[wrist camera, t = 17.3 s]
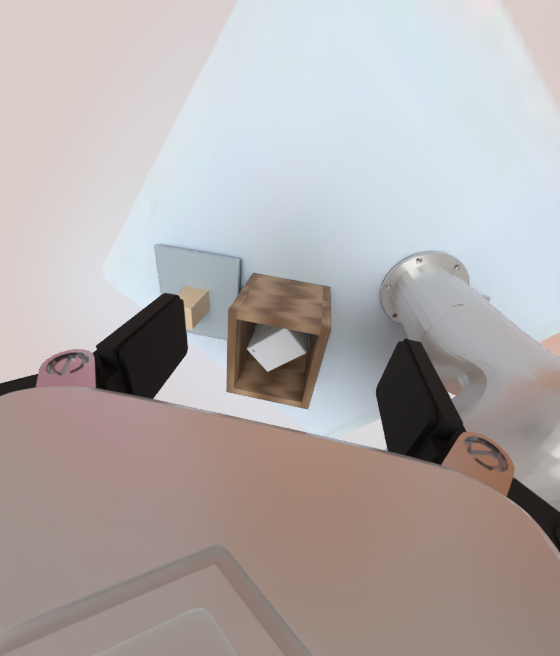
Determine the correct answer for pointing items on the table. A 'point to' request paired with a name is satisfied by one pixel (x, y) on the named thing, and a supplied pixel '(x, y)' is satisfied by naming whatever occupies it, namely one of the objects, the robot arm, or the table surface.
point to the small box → (276, 345)
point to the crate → (284, 312)
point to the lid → (200, 286)
